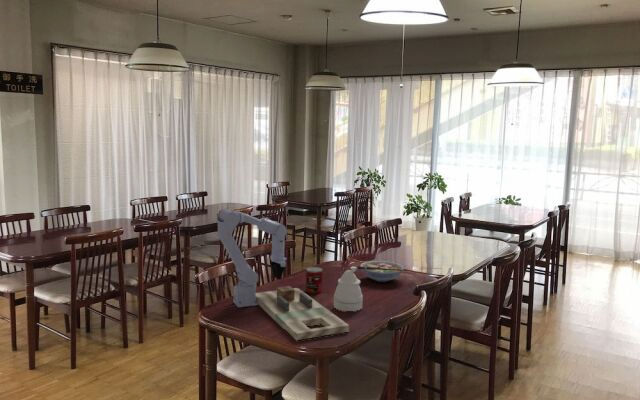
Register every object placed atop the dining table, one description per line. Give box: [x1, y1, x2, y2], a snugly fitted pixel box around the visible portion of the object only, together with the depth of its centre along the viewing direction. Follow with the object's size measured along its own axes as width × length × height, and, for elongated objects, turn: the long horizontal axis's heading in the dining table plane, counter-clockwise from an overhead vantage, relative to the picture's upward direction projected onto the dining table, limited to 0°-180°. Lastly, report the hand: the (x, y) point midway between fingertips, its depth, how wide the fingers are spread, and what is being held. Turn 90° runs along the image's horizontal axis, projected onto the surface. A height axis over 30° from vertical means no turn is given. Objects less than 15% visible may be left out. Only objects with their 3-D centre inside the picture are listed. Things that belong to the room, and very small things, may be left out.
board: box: [256, 287, 350, 342], centre depth 218 cm, size 22×50×6 cm, turn 26°
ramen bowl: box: [357, 260, 408, 283], centre depth 271 cm, size 25×23×8 cm
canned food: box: [305, 266, 323, 294], centre depth 249 cm, size 8×8×11 cm
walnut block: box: [276, 285, 295, 301], centre depth 229 cm, size 6×6×4 cm
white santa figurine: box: [333, 266, 364, 312], centre depth 229 cm, size 13×13×18 cm
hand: (277, 278), depth 238 cm, fingers open, 2 cm apart
